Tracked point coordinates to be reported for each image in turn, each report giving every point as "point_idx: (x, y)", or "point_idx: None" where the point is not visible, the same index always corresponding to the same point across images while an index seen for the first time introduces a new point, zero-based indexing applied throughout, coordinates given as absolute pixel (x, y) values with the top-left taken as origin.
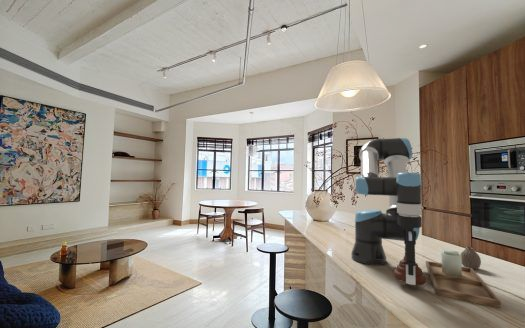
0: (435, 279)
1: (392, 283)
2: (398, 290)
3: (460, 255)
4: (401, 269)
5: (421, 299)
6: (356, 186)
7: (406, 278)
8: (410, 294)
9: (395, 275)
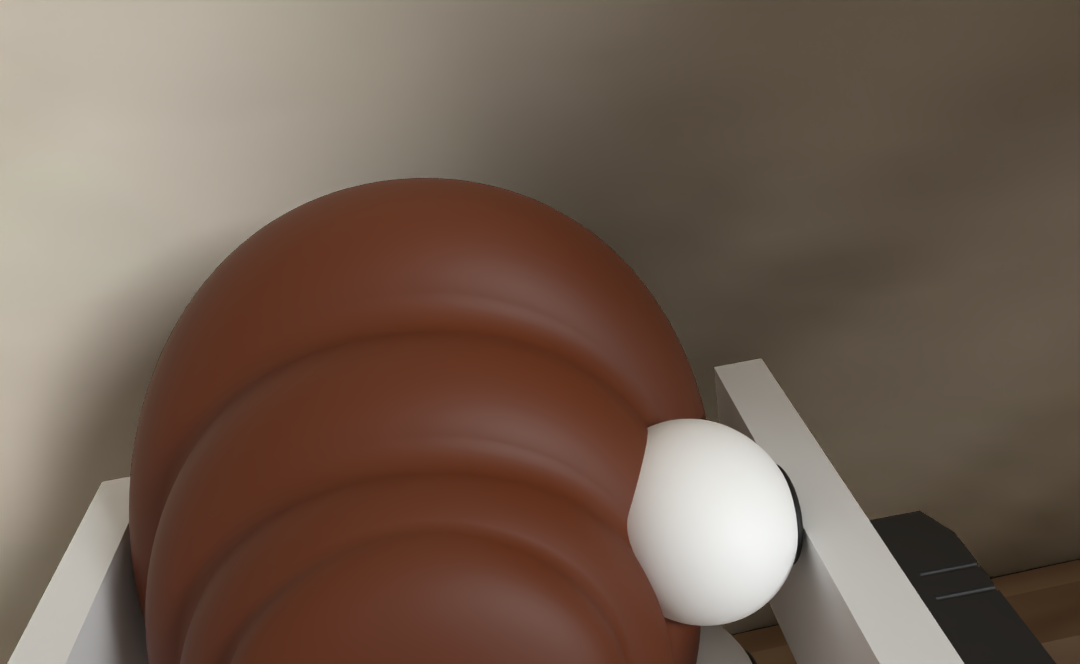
0: None
1: (339, 114)
2: (53, 283)
3: None
4: (165, 533)
5: (11, 613)
6: None
7: (73, 555)
8: (61, 469)
9: (209, 280)
